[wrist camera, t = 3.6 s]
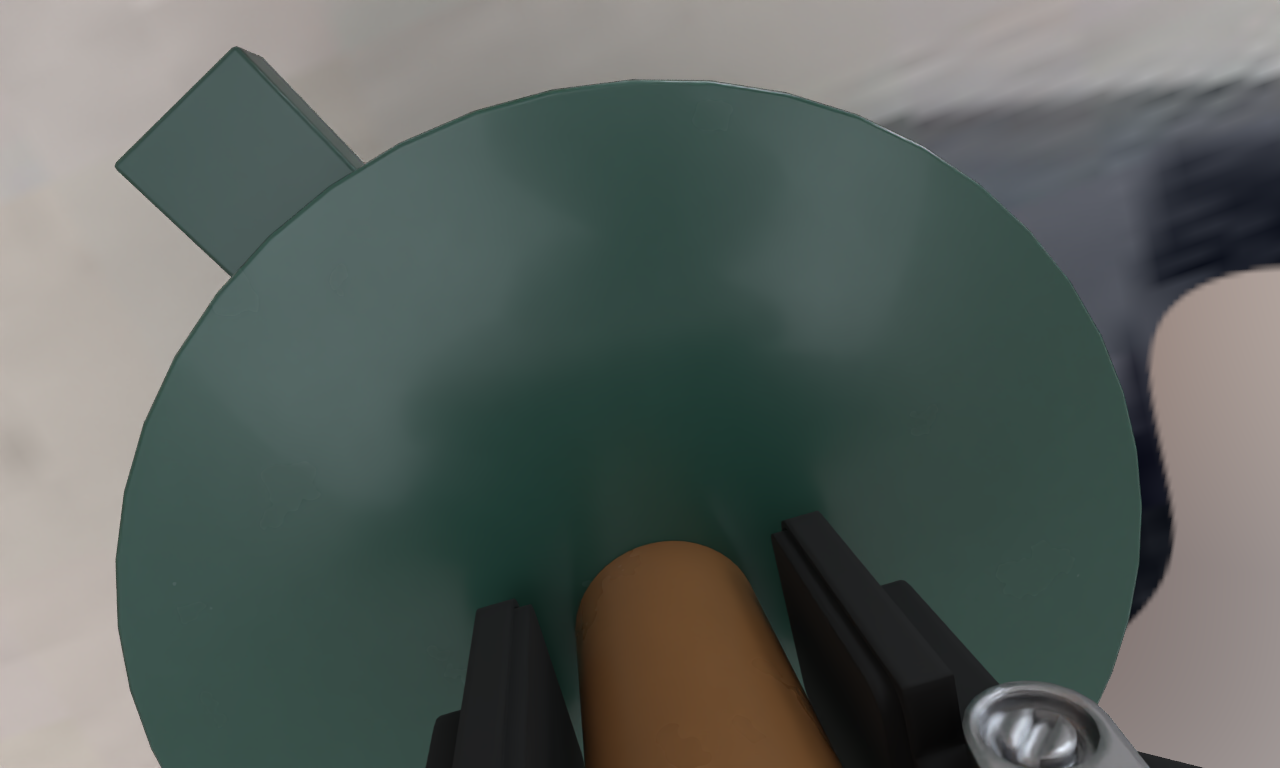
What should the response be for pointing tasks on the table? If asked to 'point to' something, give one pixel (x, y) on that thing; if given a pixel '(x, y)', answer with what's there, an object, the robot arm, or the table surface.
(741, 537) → the lid
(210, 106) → the pot
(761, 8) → the table surface
